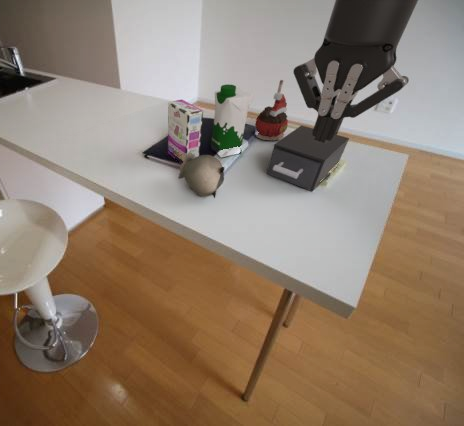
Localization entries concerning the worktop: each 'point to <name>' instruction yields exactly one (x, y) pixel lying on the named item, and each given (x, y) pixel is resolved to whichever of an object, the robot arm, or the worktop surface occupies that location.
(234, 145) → the milk carton
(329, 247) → the worktop surface
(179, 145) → the candy bar box
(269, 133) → the cake
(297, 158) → the drawer
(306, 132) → the cabinet
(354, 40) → the robot arm
